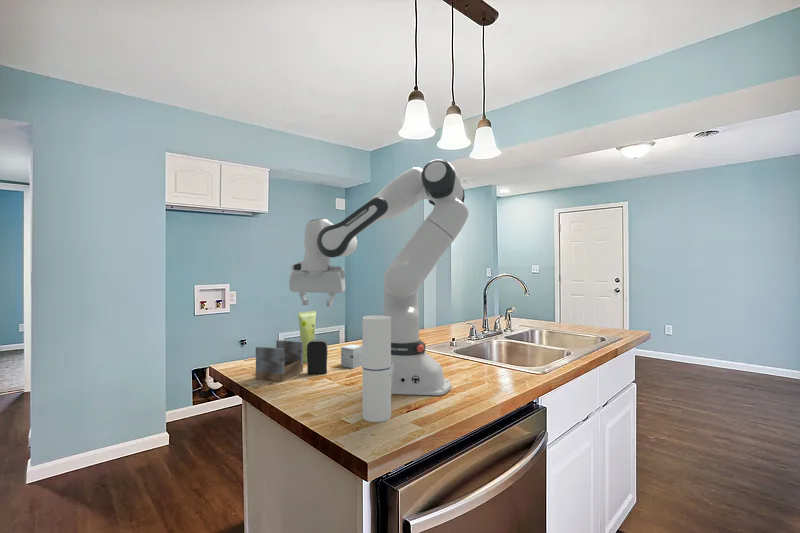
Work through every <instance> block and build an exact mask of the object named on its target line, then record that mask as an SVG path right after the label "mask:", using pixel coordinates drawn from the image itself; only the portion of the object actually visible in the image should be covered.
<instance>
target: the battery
mask: <svg viewBox="0 0 800 533" xmlns="http://www.w3.org/2000/svg"><path fill="white" fill-rule="evenodd" d="M306 365H307V370H306V372H307V374H310V375H320V374H327V373H328V342H327V341H326V340H324V339H315V340H311V341H310V342H308V344H307V363H306Z"/></svg>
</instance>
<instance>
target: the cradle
mask: <svg viewBox="0 0 800 533" xmlns="http://www.w3.org/2000/svg"><path fill="white" fill-rule="evenodd" d="M275 342H276V345H275V346H276V347H265V346H256V347H255V380H259V381H268V382H269V381H271V382H281V383H283V382H284V381H287V380H289V379H290V378H292V377H294V376H297V375H298V374H300V373H302V372H304V363H303V342H302V341H301V340H283V339H278V340H276V341H275Z"/></svg>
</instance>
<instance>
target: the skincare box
mask: <svg viewBox="0 0 800 533" xmlns="http://www.w3.org/2000/svg"><path fill="white" fill-rule="evenodd" d="M340 351H341V352H340V366H341V367H342V368H343V367H344V368H348V367H349V368H348V369H352V368H353V369H356V367H357V368H359V367H361V366H362V367H363V363H362V345H359V344H347V345H344V346H343V345H342V346H341V347H340Z"/></svg>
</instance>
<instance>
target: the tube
mask: <svg viewBox="0 0 800 533" xmlns="http://www.w3.org/2000/svg"><path fill="white" fill-rule="evenodd" d="M297 317H298V325H299V335H300V337H299V338H300V340H299V341H302V342H303V364H307V344H308V342H310V341H311V340H316V339H315V338H316V322H317V321H316V319H317V318H316V317H317V310H313V311H312V310H310V311H301V312H298V313H297Z"/></svg>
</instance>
